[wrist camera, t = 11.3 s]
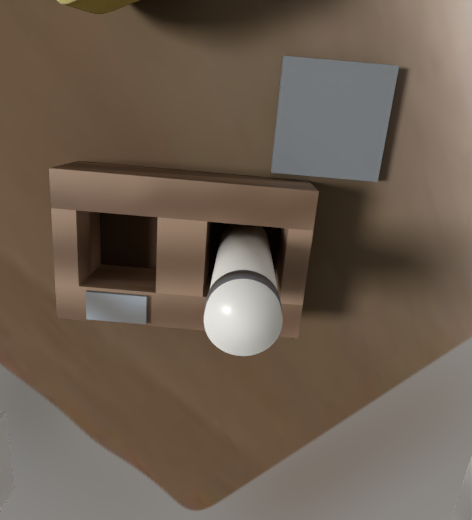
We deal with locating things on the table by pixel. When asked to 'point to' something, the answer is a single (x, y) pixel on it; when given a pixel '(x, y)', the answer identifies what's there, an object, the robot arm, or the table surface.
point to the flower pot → (97, 5)
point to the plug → (243, 293)
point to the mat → (332, 118)
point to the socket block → (170, 240)
